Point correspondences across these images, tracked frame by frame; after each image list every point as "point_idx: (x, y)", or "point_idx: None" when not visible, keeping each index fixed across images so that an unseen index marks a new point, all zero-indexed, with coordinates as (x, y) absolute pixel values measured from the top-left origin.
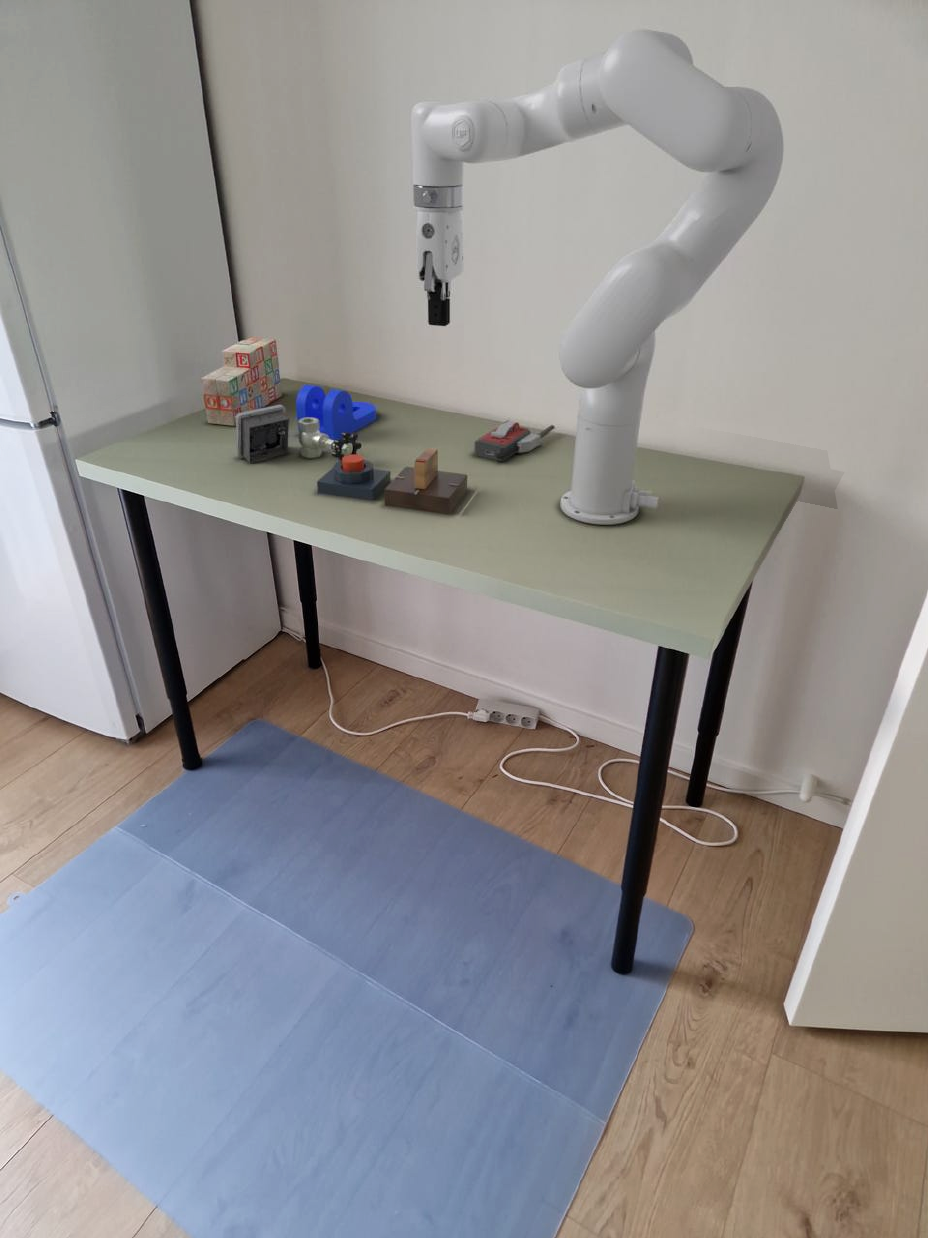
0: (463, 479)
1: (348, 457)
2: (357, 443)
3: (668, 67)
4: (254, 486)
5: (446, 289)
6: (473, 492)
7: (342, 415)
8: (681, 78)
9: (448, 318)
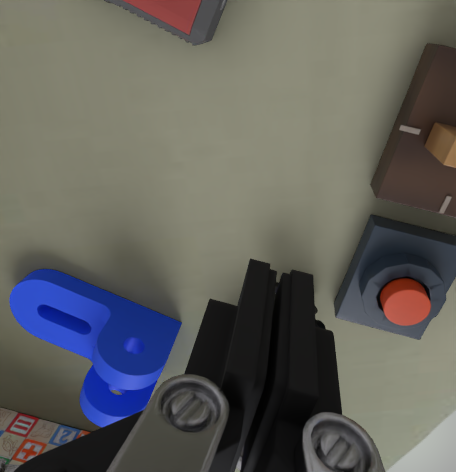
0: None
1: (402, 315)
2: None
3: None
4: (376, 404)
5: (209, 469)
6: (436, 25)
7: (139, 337)
8: None
9: (268, 282)
